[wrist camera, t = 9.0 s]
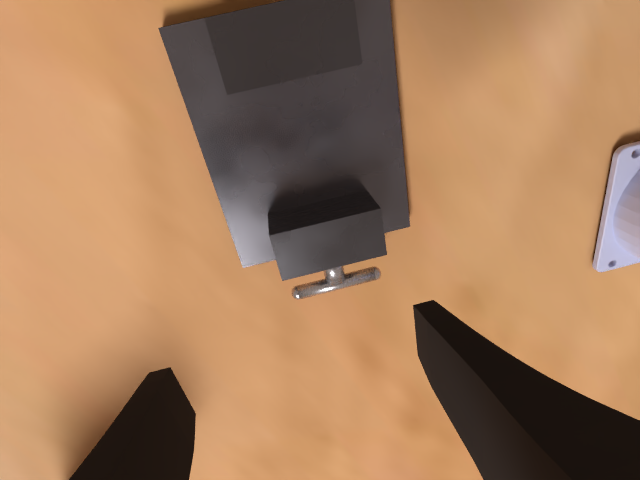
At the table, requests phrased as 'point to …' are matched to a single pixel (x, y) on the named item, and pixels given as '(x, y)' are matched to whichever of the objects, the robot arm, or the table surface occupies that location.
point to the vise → (299, 131)
